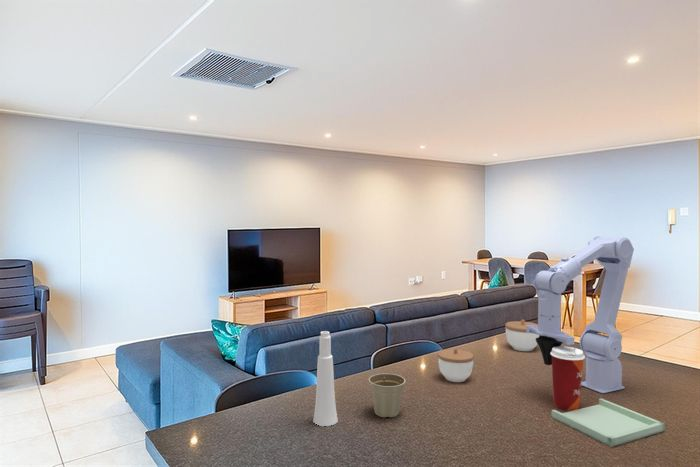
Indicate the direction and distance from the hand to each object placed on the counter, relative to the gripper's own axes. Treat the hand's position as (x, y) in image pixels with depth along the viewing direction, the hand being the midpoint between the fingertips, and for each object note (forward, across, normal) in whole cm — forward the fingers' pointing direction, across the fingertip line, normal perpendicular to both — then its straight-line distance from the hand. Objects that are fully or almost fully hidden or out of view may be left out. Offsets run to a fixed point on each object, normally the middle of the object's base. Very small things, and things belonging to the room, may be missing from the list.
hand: (548, 364), depth 124 cm
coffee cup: (+10, +6, 0) cm, 11 cm away
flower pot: (+10, -10, -45) cm, 47 cm away
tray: (+9, +17, 0) cm, 20 cm away
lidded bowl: (+10, -39, +29) cm, 49 cm away
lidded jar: (+10, -23, -14) cm, 29 cm away
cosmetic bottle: (+10, -12, -61) cm, 63 cm away
